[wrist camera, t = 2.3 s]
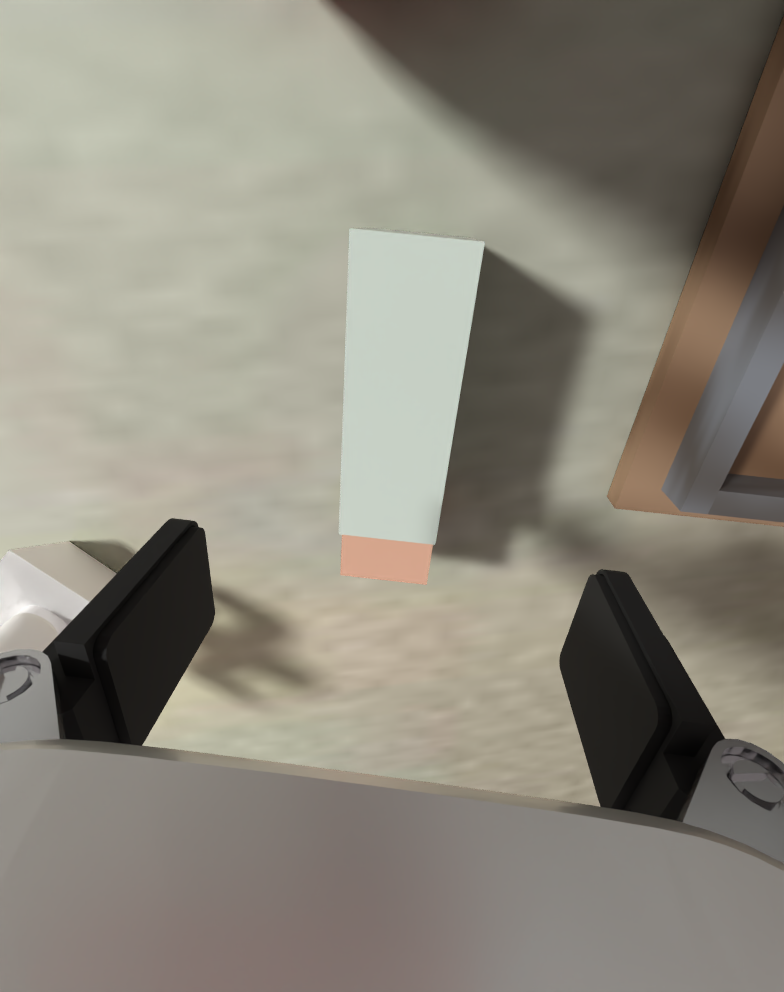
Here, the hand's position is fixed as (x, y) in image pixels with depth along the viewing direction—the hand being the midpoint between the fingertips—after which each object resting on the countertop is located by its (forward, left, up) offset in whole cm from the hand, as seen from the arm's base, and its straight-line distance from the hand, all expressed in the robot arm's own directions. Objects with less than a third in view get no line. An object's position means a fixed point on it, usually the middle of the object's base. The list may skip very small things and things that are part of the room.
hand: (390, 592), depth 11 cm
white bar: (-1, 0, -13) cm, 13 cm away
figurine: (+13, -19, -13) cm, 27 cm away
